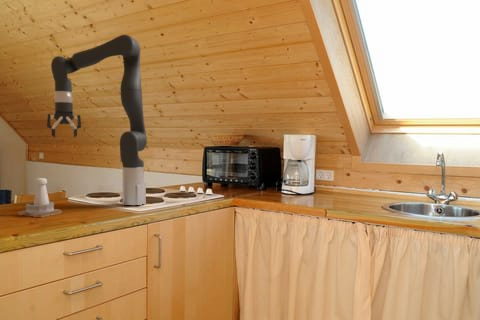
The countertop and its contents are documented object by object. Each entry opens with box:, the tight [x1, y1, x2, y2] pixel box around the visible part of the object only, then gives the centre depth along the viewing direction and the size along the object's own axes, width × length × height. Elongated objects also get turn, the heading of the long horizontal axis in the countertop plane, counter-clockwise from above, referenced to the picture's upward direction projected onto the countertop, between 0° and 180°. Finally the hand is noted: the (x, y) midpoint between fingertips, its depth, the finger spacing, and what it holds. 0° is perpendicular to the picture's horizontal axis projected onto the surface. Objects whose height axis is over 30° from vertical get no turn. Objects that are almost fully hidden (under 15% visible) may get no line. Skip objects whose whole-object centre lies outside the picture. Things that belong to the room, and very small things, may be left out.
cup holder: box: [17, 201, 62, 218], centre depth 159 cm, size 12×10×4 cm
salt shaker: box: [33, 177, 50, 205], centre depth 160 cm, size 6×6×13 cm
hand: (64, 137), depth 184 cm, fingers open, 8 cm apart
